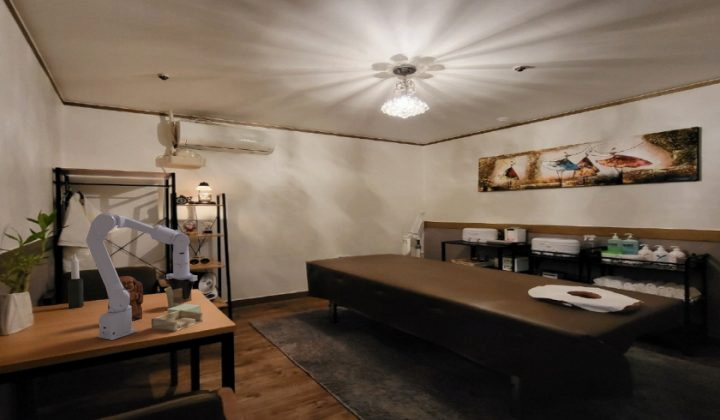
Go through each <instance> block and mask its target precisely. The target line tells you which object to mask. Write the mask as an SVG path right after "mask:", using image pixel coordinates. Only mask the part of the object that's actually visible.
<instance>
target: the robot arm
mask: <svg viewBox="0 0 720 420" xmlns="http://www.w3.org/2000/svg"><path fill="white" fill-rule="evenodd" d="M116 226H117V229H123V228H127V229H132V230H135V231H138V232H142V233H145V234H147V235H149V236H150V237H151V239H152V240H155V241H157V242H161V243H163V244H167V245H172V247H173V248H172V249H173V250H172V269H173V270H172V273H167V274H166V275H165V276H166V280H169V281H167V283H168V284H169V287H171V288H172V290H175V289H179V288H182V292H183V299H188V298H189V296H190V292H191V293H192V288H193V287H194V284H195V283H196V281H198V275H197V274H196V275H195V274H193V273H191V272H190V271H191V270H190V251H189V250H190V249H189V247H190V246H189V245H190V243H191V239H190V238H189V236H188V235H187V234H186V233H183V232H182V231H181V232H180V231H179V230H178V229H172V228H169V227H167V225H165V224H162V225H161V224H157V225H154V226H152V225H150V224H148V223H147V224H146V223H145V222H142V221H139V220H137V219H133V218H132V217H131V218H130V217H128V216H124V215H118V214H113V213H110V212H103V213H99V214H98V215H97V216H95V218H94V219H93V220H92V221H91V223H90V227H89V230H88V233H87V236H86V238H85V239H86V240H85V242H86V244H87V247H88V249H89V252H90V254H91V256H92V258H93V261H94V263H95V266H96V268H97V270H98V272H99V275H100V277H101V280H102V282H103V284H104V286H105V289H106V292H107V297H108V296H109V300H108V301H107V302H108V303H107V305H108V304H109V307H110V308H109V309H108V308H107V312H105V313H103V314H101V315H100V316H99V319H98V325H99V327H98V330H99V331H98V332H99V333H98V334H99V335H98V337H97V338H99V339H106V340H110V341H113V340H117V339H119V338H123V337H125V336H128V335H132V334H134V333H137V332H138V329H134V328H133V321H132V306H130V305H129V303H130V294H129V292H128V291H127V290H125V289H124V287H123V285H122V283H121V282H120V279H119V277H120V276H119V275H118V272H117V269H116V268H115V266H114V263H113V261H112V259H111V256H110V254H109V252H108V249H107V246H106V244H105V242H104V240H105V239H106V238H107V237H108V234H109V233H110V232H111V231H112V230H113V229H114V228H115V227H116Z"/></svg>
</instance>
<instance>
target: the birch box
mask: <svg viewBox="0 0 720 420" xmlns="http://www.w3.org/2000/svg"><path fill="white" fill-rule="evenodd" d="M150 320H151V321H150V322H151V323H150V324H151V329H154V330H160V331H166V332H172V333H176V332H178V331H181V330H183V329H186V328H189V327H192V326H194V325H197V324H200V323H201V322H203V312H193V311H185V310H178V311H175V312H172V313H169V314H168V313H166V314H163V315H159V316H156V317H153V318H151V319H150ZM199 322H200V323H199Z"/></svg>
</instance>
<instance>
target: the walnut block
mask: <svg viewBox="0 0 720 420" xmlns="http://www.w3.org/2000/svg"><path fill="white" fill-rule="evenodd" d="M190 301H192V291H191V292H190V296H189V298H188V299H183V292H182V288H179V289H175V290H173V303H179V304H181V303H184V304H186V303H188V302H190Z"/></svg>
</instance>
